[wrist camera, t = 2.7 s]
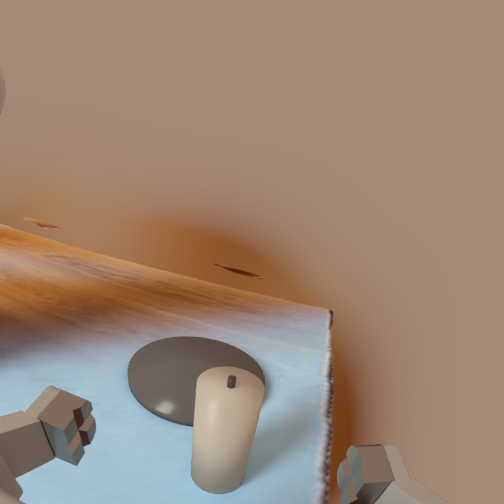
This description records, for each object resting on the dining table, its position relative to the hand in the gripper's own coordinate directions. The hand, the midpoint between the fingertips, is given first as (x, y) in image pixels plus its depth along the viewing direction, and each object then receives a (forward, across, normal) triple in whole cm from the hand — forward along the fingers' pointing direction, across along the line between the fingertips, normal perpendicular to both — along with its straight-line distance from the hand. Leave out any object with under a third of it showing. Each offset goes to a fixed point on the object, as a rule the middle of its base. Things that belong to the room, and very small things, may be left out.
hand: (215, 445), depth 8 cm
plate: (+27, +5, +19) cm, 34 cm away
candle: (+12, 0, +19) cm, 23 cm away
